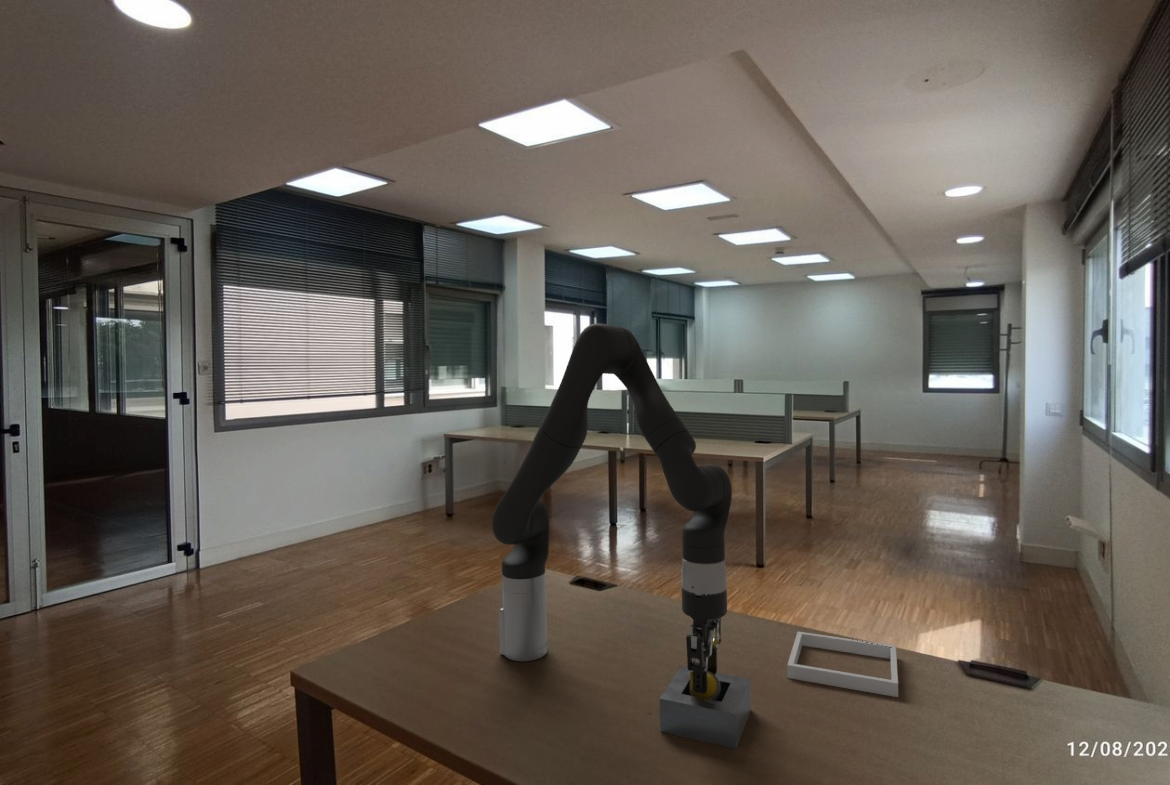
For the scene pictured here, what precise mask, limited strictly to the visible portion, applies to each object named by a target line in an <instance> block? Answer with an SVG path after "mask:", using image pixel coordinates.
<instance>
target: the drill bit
mask: <svg viewBox="0 0 1170 785" xmlns="http://www.w3.org/2000/svg"><path fill="white" fill-rule="evenodd" d="M720 691H721V686H720V682H719V680H718V678H717V677H716V676H715V675H714V674H713V673H711V672H709V671H707V692H706V693H705V694H702V693H697V692H694V690H693V672H690V684H689V692H690V695H691V696H694V697H699V698H704V699H709V700H714V701H716V700H717V699H718V697H719V695H720Z"/></svg>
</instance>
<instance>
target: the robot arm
mask: <svg viewBox="0 0 1170 785" xmlns="http://www.w3.org/2000/svg"><path fill="white" fill-rule="evenodd" d="M566 365H567V366H566V368H565V370H564V373H563V376H562V378H561V380H560V381H561V382H560V384H559V387H558V388H557V390H556V392H555V395H554V397H553V399H552V402H551V404H550V406H549V407H548V410H547V411H546V412H547V413H546V414H545V416H544V418H543V420H542V421H541V424H540V425H539V428H538V430H537V432H536V433H535V436H534V437H533V441H532V442H531V445H530V446H529V449H528V451H527V453H526V455H525V457H524V459H523V461H522V462H521V465H520V467H519V469H518V471H517V473H516V475H515V477H514V479H513V480H512V481H511V483H510V485H509V487H508V488H507V490H506V491H505V493H504V495H502V497H501V498H500V501H499V502H498V503H497V505H496V507H495V509H494V512H493V515H492V519H491V522H492V523H491V524H492V525H491V527H492V532H493V534H494V535H493V536H494V537H495V538H496V540H498V542H500V543H502V544H504V545H506V546H507V545H508V546H509V545H510V546H511V545H513V547H512V549H511V551H510V552H509V553H508V554H507V555H506V556H505V557H504V558H503V559H502V561H501V580H502V581H501V586H502V589H501V590H502V591H501V592H502V607H501V608H499V610H498V623H499V624H498V628H499V654H500V655H503V656H504V657H505V658H507V659H508V660H510V661H515V662H531V661H535V660H539V659H541V658H543V657H545V655H546V654H547V653H548V633H547V632H548V631H547V630H548V626H547V590H546V589H547V586H546V584H547V583H546V564H547V561H548V559H549V558H548V557H549V554H550V552H549V551H550V550H549V548H550V516H549V511H548V508H547V506H546V504H545V502H544V501H543V499H541V498H542V496H543V495H544V494H545V493H546V492H547V491H548V490H549V488H551V487H552V486H553V485H554V484H555V483H556V482H557V481H558V480H559V479H560V478H561V477H562V476H563V475H564V474H565V472H567V470H568V469H569V468H570V467H571V466H572V464H573V463H574V461H575V460H576V458H577V456H578V454H579V452H580V450H581V449H582V446H583V444H584V443H585V440H586V437H587V434H588V429H589V428H588V426H589V420H588V418H589V416H588V405H589V400H590V398H591V396H592V393H593V391H594V389H595V388H596V386H597V383H598V382H599V380H600V379H601V377H602V376H603V374H605V375H615V377H616V378H618V380H619V381H620V382H621V383H622V384H623V385H624V387H625V388H626V390H627V391H628V392H629V395H630V397H631V399H632V403H633V406H634V413H635V417H636V420H637V424H638V428H639V430H640V432H641V434H642V436H643V437H644V439H645V441H646V443H647V444H648V445H649V447H650V448H651V450H652V451H653V452H654V454H655V456H656V457H657V459H658V460H659V462H660V464H661V469H662V471H663V474H664V477H665V480H666V484H667V486H668V489H669V492H670V493H671V495H672V497H673V499H674V500H675V501H676V502H677V503H678V505H679V506H681V507H682V508H683V509H685V510H687V511H690V512H693V515H692V518H691V519H690V520H689V521H688V522H687V523H686V524H685V525H684V527H683V528H682V535H681V537H682V538H681V541H682V543H681V544H682V549H681V551H682V563H681V569H680V570H681V572H680V574H681V578H680V580H681V610H682V612H683V614H685V616H688V617H690V618H691V619H692V621H693V622H692V624H690V628H689V634H686V635H687V636H686V637H685V640H686V658H687V660H686V662H687V663H686V664H687V666H686V667H687V668H688V670H689V671H693V690H694V692H697V693H702V694H705V693H706V692H707V671H709V672H711V673H713V674H714V675H715V674H716V673H718V652H719V649H720V646H719V645H720V644H721V643H722V638H721V636H722V631H721V630H722V628H721V626H722V618H723V617H724V616H725V615H726V614H727V612H728V586H727V585H728V579H727V575H728V574H727V567H726V554H725V553H726V551H725V550H726V549H725V548H726V547H725V546H726V545H725V544H726V543H725V531H726V526H727V524H728V520H729V514H730V509H731V504H732V496H733V490H732V489H733V488H732V483H731V479H730V476H729V475H728V473H727V471H725V469H724V468H722V467H721V466H719V465H716V464H705V465H701V466H698V465H697V464H696V462H695V460H694V458H693V455H694V453H695V451H696V448H697V444H696V441H695V439H694V437H693V435H692V434H691V433H690V431H689V430H688V428H687V426H686V425H685V424H684V422H683V421H682V420H681V418H680V417H679V415H678V414H677V413H676V411H675V410H674V408H673V407H672V405H671V404H670V402H669V400H668V399H667V397H666V395H665V393H664V392H663V390H662V389H661V387H660V385H659V383H658V381H657V379H656V377H655V375H654V373H653V370H652V369H651V367H650V365H649V362H648V360H647V358H646V356H645V355H644V352H643V350H642V348H641V346H640V344H639V342H638V340H637V339H636V337H635V335H634V334H633V333H632V332H631V330H629V329H627V328H625V327H624V326H619V325H612V324H606V323H592V324H589V325H588V326H586V327H585V328H583V330H582V331H581V332H580V333H579V335H578V337H577V339H576V341H575V344H574V346H573V349H572V351H571V354H570V357H569V360H568V362H567V364H566ZM697 660H698V662H697Z"/></svg>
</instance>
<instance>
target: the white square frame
mask: <svg viewBox="0 0 1170 785" xmlns="http://www.w3.org/2000/svg"><path fill="white" fill-rule="evenodd" d="M857 640H858V641H857ZM862 641H863V642H862ZM866 642H868V643H866ZM871 643H873V644H871ZM877 644H878V645H877ZM882 645H883V646H882ZM885 646H887V647H885ZM803 647H808V648H817V649H823V650H829V651H837V652H843V653H850V654H856V655H862V656H868V657H874V658H875V657H876V658H880V659H881V658H883V659H887V660H890V678H891V679H887V678H880V677H875V676H869V675H865V674H864V675H863V674H857V673H851V672H846V671H838V670H834V669H827V668H821V667H815V666H810V665H803V664H799V658H800V655H801V652H802V651H801V650H802V648H803ZM889 647H892V648H889ZM788 658H789V659H788V661H787V664H786V665H787V666H786V668H787V672H786V673H787V674H786V675H787V679H791V680H798V681H804V682H808V683H814V684H821V685H826V686H832V687H837V688H838V687H839V688H843V689H849V690H854V691H860V692H864V693H865V692H867V693H871V694H877V695H883V696H888V697H894V698H899V676H898V662H897V661H898V660H897V646H896V645H894V644H888V643H887V644H886V643H878V642H873V641H867V640H859V639H853V640H852V639H851V638H845V637H839V636H830V635H825V634H818V633H812V632H811V633H810V632H804V631H796V636H795V639H794V642H793V645H792V648H791V651H790V654H789V657H788Z"/></svg>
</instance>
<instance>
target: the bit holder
mask: <svg viewBox="0 0 1170 785" xmlns="http://www.w3.org/2000/svg"><path fill="white" fill-rule="evenodd" d="M690 672H693V671H689V670H688V668H687V666H682V665H680V667H679V669H678V671H676V673H675V675H674V676H673V678H672V679H671V680H670V682H669V684H668V685H667V687H666V688H665V689H664V691H663V692H662V694H661V695H660V697H659V732H661V733H665V734H669V735H674V736H679V737H683V738H686V739H687V738H688V739H692V740H695V741H700V742H705V743H708V744H713V745H718V746H721V747H726V748H729V749H734V750H737V748H738V745H739V743H740V740H741V738H742V736H743V732H744V729H745V727H746V725H747V722H748V719H749V717H750V716H749V715H750V713H751V711H752V707H751V706H752V699H751V698H752V697H751V695H752V694H751V692H752V690H751V678H748V677H744V676H738V675H734V674H733V675H732V674H726V673H722V672H717V673H716V674H715V676H716V677H717V678H718V680H719V682H720V686H721V691H720V695H719V697H718V699H717V700H716V701H714V700H709V699H704V698H699V697H694V696H691V695H690V692H689V684H690Z"/></svg>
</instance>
